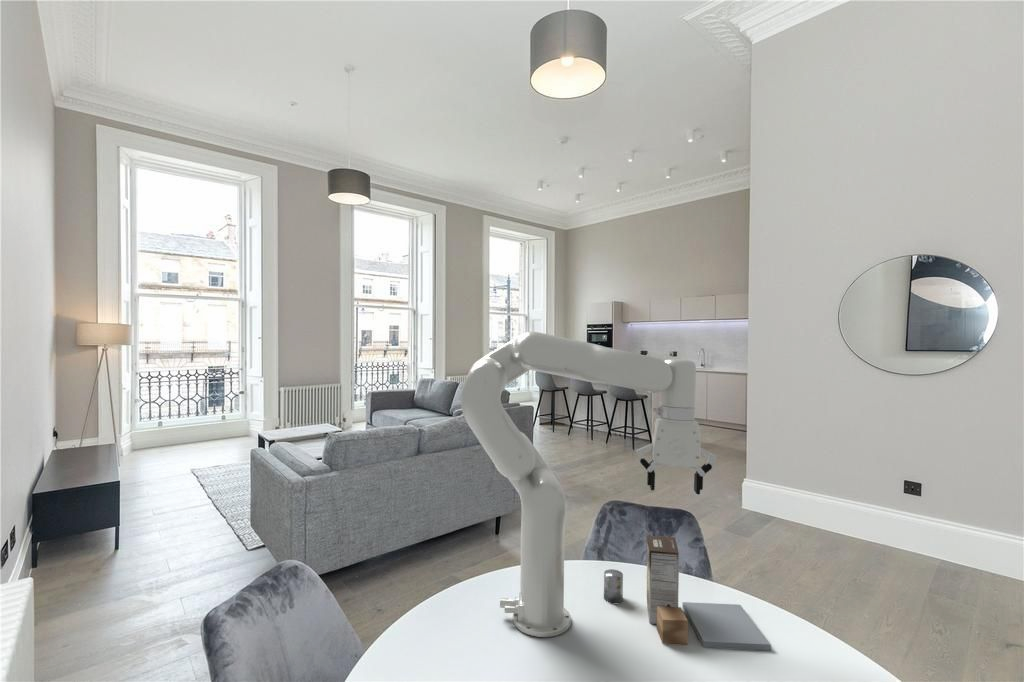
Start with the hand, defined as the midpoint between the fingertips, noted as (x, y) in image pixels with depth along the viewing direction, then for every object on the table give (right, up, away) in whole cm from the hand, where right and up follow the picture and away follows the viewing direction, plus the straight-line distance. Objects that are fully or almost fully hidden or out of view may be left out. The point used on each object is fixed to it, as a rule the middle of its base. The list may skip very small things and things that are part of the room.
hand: (674, 490), depth 108 cm
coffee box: (-3, -28, +1) cm, 28 cm away
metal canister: (-12, -28, +7) cm, 31 cm away
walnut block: (-3, -28, -8) cm, 29 cm away
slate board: (+9, -28, -4) cm, 30 cm away
